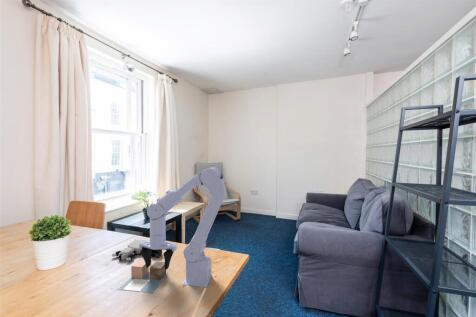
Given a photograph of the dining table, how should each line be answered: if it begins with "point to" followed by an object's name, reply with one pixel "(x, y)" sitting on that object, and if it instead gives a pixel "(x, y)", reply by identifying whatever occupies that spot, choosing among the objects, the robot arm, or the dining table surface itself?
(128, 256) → the robot toy
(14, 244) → the dining table surface
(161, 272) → the walnut block
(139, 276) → the terracotta block
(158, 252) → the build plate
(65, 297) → the dining table surface
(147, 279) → the plate
